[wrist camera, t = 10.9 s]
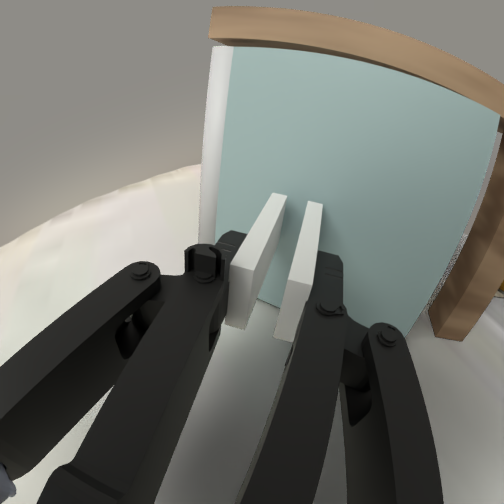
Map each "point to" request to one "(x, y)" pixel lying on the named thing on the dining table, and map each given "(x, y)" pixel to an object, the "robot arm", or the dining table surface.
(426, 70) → the step stool
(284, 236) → the pale teal panel
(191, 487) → the dining table surface
